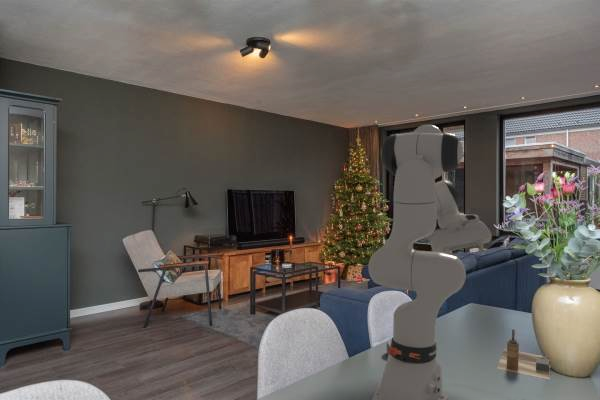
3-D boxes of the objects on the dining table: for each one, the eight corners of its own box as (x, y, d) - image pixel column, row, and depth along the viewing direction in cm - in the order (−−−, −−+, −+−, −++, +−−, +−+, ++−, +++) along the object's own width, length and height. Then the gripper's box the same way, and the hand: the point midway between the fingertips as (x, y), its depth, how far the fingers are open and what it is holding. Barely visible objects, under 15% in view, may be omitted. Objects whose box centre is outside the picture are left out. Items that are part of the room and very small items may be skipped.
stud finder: (549, 372, 129) (549, 364, 128) (535, 369, 130) (536, 361, 130) (549, 365, 134) (549, 357, 134) (536, 363, 135) (536, 355, 135)
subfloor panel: (549, 383, 123) (549, 379, 123) (496, 371, 131) (497, 368, 131) (550, 360, 140) (550, 357, 140) (504, 351, 148) (504, 348, 148)
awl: (517, 371, 129) (518, 332, 129) (506, 368, 131) (507, 330, 130) (518, 367, 132) (519, 329, 131) (507, 365, 133) (508, 327, 133)
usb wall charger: (386, 352, 145) (386, 341, 145) (406, 353, 145) (406, 341, 145) (389, 357, 141) (389, 345, 141) (409, 357, 141) (410, 345, 141)
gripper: (424, 226, 150) (438, 257, 140) (482, 213, 149) (499, 243, 139) (424, 238, 155) (437, 268, 145) (480, 225, 153) (497, 255, 143)
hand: (468, 256), depth 142 cm, fingers open, 8 cm apart
